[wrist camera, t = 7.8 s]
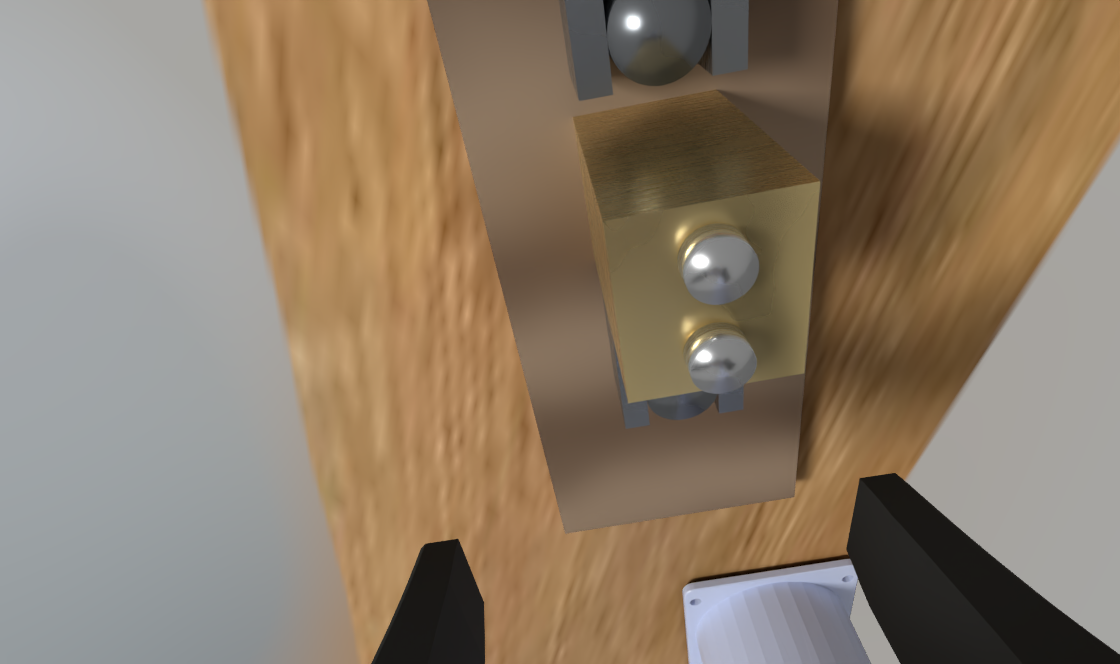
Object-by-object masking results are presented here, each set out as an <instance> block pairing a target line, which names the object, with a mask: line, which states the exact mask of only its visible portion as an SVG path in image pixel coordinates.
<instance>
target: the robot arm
mask: <svg viewBox="0 0 1120 664" xmlns="http://www.w3.org/2000/svg"><path fill="white" fill-rule="evenodd" d="M847 552H848V555H849V557H850V559H842V560H836V561H829V562H823V563H816V564H810V565H804V566H797V567H791V568H784V569H778V570H771V571H765V572H758V573H752V574H745V575H739V576H732V577H726V578H720V579H713V580H707V581H700V582H694V583H690V584H687V585H686V586H685V587H684V588H683V603H684V614H685V626H686V637H687V649H688V661H689V664H871V663H870V660H869V658H868V656H867V654H866V652H865V650H864V648H863V646H862V644H861V641H860V639H859V637H858V635H857V633H856V631H855V629H854V627H853V625H852V623H851V621H850V614H851V609H852V604H853V600H854V594H855V590H856V585H857V580H859V582H860V585H861V587H862V589H863V592H864V594H865V596H866V599H867V601H868V603H869V606H870V608H871V610H872V612H873V613H874V615H875V617H876V619H877V621H878V623H879V625H880V626H881V628H882V630H883V632H884V634H885V636H886V638H887V640H888V641H889V643H890V645H891V647H892V649H893V651H894V652H895V654H896V656H897V658H898V660H899V662H900V663H901V664H1120V654H1118V653H1117V652H1116V651H1114V650H1113V649H1111V648H1110V647H1109V646H1107V645H1106V644H1105V643H1103V642H1102V641H1100V640H1099V639H1098V638H1096V637H1095V636H1093V635H1092V634H1091V633H1090V632H1088V631H1087V630H1086V629H1084V628H1083V627H1082V626H1080V625H1079V624H1077V623H1076V622H1075V621H1074V620H1072V619H1071V618H1070V617H1068V616H1067V615H1065V614H1064V613H1063V612H1062V611H1060V610H1059V609H1057V608H1056V607H1055V606H1053V605H1052V604H1051V603H1050V602H1048V601H1047V600H1046V599H1045V598H1043V597H1042V596H1041V595H1040V594H1038V593H1037V592H1035V590H1033V589H1032V588H1031V587H1029V586H1028V585H1027V584H1026V583H1024V582H1023V581H1022V580H1021V579H1020V578H1018V577H1017V576H1016V575H1014V574H1013V573H1012V572H1011V571H1010V570H1008V569H1007V568H1006V567H1005V566H1004V565H1002V564H1001V563H1000V562H999V561H997V560H996V559H995V558H994V557H993V556H991V555H990V554H988V552H986V551H985V550H984V549H983V548H982V547H981V546H979V545H978V544H977V543H976V542H974V541H973V540H972V539H971V538H970V537H969V536H968V535H966V534H965V533H964V532H963V531H962V530H961V529H959V528H958V527H957V526H956V525H955V524H953V523H952V522H951V521H950V520H949V519H948V518H947V517H945V516H944V515H943V514H942V513H941V512H940V511H938V510H937V509H936V508H935V507H934V506H933V505H932V504H931V503H929V502H928V501H927V500H926V499H925V498H924V497H923V496H921V495H920V494H919V493H918V492H917V491H916V490H915V489H913V488H912V487H911V486H910V485H909V484H908V483H907V482H905V481H904V480H903V479H902V478H901V477H900V476H898V475H897V474H896V473H892V474H885V475H878V476H872V477H865V478H860V480H859V485H858V491H857V496H856V501H855V507H854V512H853V517H852V522H851V528H850V533H849V538H848V544H847ZM371 664H485V629H484V602H483V599H482V597H481V594H480V592H479V589H478V587H477V584H476V582H475V579H474V577H473V574H472V572H471V569H470V567H469V564H468V562H467V559H466V557H465V554H464V552H463V549H462V547H461V544H460V542H459V539H454V540H448V541H441V542H434V543H428V544H425V545H424V546H423V547H422V548H421V550H420V553H419V555H418V558H417V560H416V563H415V566H414V568H413V571H412V573H411V576H410V578H409V581H408V583H407V586H406V588H405V590H404V593H403V595H402V597H401V600H400V602H399V604H398V607H397V609H396V611H395V614H394V616H393V618H392V620H391V623H390V625H389V627H388V629H387V631H386V634H385V636H384V638H383V640H382V642H381V644H380V646H379V648H378V651H377V653H376V655H375V657H374V659H373V661H372V663H371Z"/></svg>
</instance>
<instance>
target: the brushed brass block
mask: <svg viewBox="0 0 1120 664" xmlns="http://www.w3.org/2000/svg"><path fill="white" fill-rule="evenodd" d="M573 123H574V129H575V136H576V142H577V149H578V155H579V162H580V168H581V175H582V181H583V188H584V194H585V201H586V207H587V213H588V220H589V226H590V233H591V239H592V246H593V252H594V259H595V264H596V268H597V272H598V276H599V281H600V285H601V289H602V293H603V298H604V302H605V306H606V310H607V315H608V319H609V323H610V328H611V332H612V336H613V340H614V345H615V349H616V353H617V357H618V362H619V366H620V370H621V374H622V379H623V383H624V387H625V391H626V396H627V400H628V403H634V402H639V401H645V400H651V399H657V398H663V397H669V396H675V395H681V394H686V393H692V392H698V391H704V392H707V393H712V394H722V393H728V392H731V391H734V390H736V389H738V388H740V387H741V386H743V385H744V384H745V383H751V382H757V381H763V380H768V379H774V378H780V377H786V376H792V375H798V374H804V371H805V359H806V347H807V335H808V323H809V311H810V299H811V287H812V275H813V263H814V251H815V239H816V227H817V215H818V202H819V190H820V180H818V179H817V178H816V177H815V176H814V175H813V174H812V173H810V172H809V171H808V170H807V169H806V168H805V167H804V166H803V165H801V164H800V163H799V162H798V161H797V160H796V159H795V158H793V157H792V156H791V155H790V154H789V153H788V152H787V151H786V150H784V149H783V148H782V147H781V146H780V145H779V144H778V143H776V142H775V141H774V140H773V139H772V138H771V137H770V136H769V135H767V134H766V133H765V132H764V131H763V130H762V129H761V128H759V127H758V126H757V125H756V124H755V123H754V122H753V121H752V120H750V119H749V118H748V117H747V116H746V115H745V114H744V113H743V112H741V111H740V110H739V109H738V108H737V107H736V106H735V105H733V104H732V103H731V102H730V101H729V100H728V99H727V98H726V97H724V96H723V95H722V94H721V93H720V92H719V91H718V90H716V89H715V90H710V91H705V92H700V93H695V94H689V95H684V96H679V97H674V98H669V99H663V100H658V101H653V102H648V103H643V104H637V105H632V106H627V107H622V108H617V109H611V110H606V111H601V112H596V113H591V114H585V115H580V116H575V117H573Z"/></svg>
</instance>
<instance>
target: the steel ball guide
mask: <svg viewBox="0 0 1120 664" xmlns="http://www.w3.org/2000/svg"><path fill="white" fill-rule="evenodd" d="M559 6H560V13H561V19H562V26H563V33H564V40H565V46H566V53H567V60H568V67H569V74H570V77H571V80H572V83H573V86H574V89H575V91H576V94H577V97H578V100H579V101H583V100H588V99H594V98H599V97H604V96H609V95H613V87H612V78H611V69H610V60H609V56H610V57H611V59H612V60H613V62H614V63H615V65H616V66H617V68H618V69H619V70H620V71H621V72H622V73H623V74H624V75H625V76H626V77H627V78H629V79H630V80H632V81H634V82H636V83H639V84H642V85H647V86H662V85H666V84H670V83H672V82H675V81H677V80H679V79H680V78H682V77H683V76H685V75H686V74H688V73H689V72H690V71H691V70H692V69H693V68H694V67H695V66H696V64H697V63H698V64H699V65H700V66H701V67H703V68H704V69H705V70H706V71H707V72H709V73H710V74H711V75H712V76H715V75H720V74H726V73H731V72H736V71H741V70H747V69H748V14H749V0H559ZM601 290H602V289H601ZM602 297H603V293H602ZM603 304H604V310H605V317H606V324H607V331H608V338H609V344H610V351H611V358H612V365H613V371H614V378H615V382H616V387H617V391H618V396H619V401H620V405H621V410H622V414H623V419H624V423H625V428H626V429H629V428H635V427H641V426H647V425H650V422H649V413H648V405H649V407H650V409H651V410H652V411H653V412H654V413H655V414H657V415H658V416H660V417H663V418H666V419H670V420H683V419H688V418H692V417H694V416H697V415H699V414H701V413H702V412H704V411H705V410H706V409H708V408H709V407H710V406H711V405H712V403H713V402H714V403H715V405H716V408H717V410H718V412H719V413H725V412H731V411H737V410H743V398H744V385H743V386H741V387H740V388H738V389H736V390H734V391H731V392H728V393H722V394H712V393H707V392H704V391H698V392H692V393H686V394H681V395H675V396H669V397H663V398H657V399H651V400H645V401H639V402H634V403H628V400H627V396H626V391H625V387H624V383H623V379H622V374H621V370H620V366H619V362H618V357H617V353H616V349H615V345H614V340H613V336H612V332H611V328H610V323H609V319H608V315H607V310H606V306H605V302H604V298H603ZM647 402H648V404H647Z"/></svg>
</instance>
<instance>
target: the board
mask: <svg viewBox="0 0 1120 664" xmlns="http://www.w3.org/2000/svg"><path fill="white" fill-rule="evenodd" d="M427 1H428V5H429V9H430V13H431V17H432V20H433V24H434V28H435V32H436V36H437V40H438V44H439V47H440V51H441V55H442V59H443V63H444V67H445V71H446V74H447V78H448V82H449V86H450V90H451V94H452V98H453V102H454V105H455V109H456V113H457V117H458V121H459V125H460V129H461V132H462V136H463V140H464V144H465V148H466V152H467V156H468V159H469V163H470V167H471V171H472V175H473V179H474V183H475V186H476V190H477V194H478V198H479V202H480V206H481V210H482V214H483V217H484V221H485V225H486V229H487V233H488V237H489V241H490V244H491V248H492V252H493V256H494V260H495V264H496V268H497V271H498V275H499V279H500V283H501V287H502V291H503V295H504V298H505V302H506V306H507V310H508V314H509V318H510V322H511V326H512V329H513V333H514V337H515V341H516V345H517V349H518V353H519V356H520V360H521V364H522V368H523V372H524V376H525V380H526V383H527V387H528V391H529V395H530V399H531V403H532V407H533V410H534V414H535V418H536V422H537V426H538V430H539V434H540V438H541V441H542V445H543V449H544V453H545V457H546V461H547V465H548V468H549V472H550V476H551V480H552V484H553V488H554V492H555V495H556V499H557V503H558V507H559V511H560V515H561V519H562V523H563V526H564V530H565V534H566V533H572V532H578V531H585V530H591V529H597V528H603V527H610V526H616V525H622V524H629V523H635V522H641V521H647V520H654V519H660V518H666V517H672V516H679V515H685V514H691V513H698V512H704V511H710V510H716V509H723V508H729V507H735V506H741V505H748V504H754V503H760V502H766V501H773V500H779V499H785V498H792V497H794V495H795V483H796V472H797V461H798V450H799V438H800V427H801V416H802V405H803V393H804V382H805V371H806V360H807V349H808V337H809V326H810V315H811V304H812V292H813V281H814V270H815V259H816V247H817V236H818V225H819V214H820V202H821V191H822V180H823V169H824V158H825V146H826V135H827V124H828V113H829V101H830V90H831V79H832V68H833V56H834V45H835V34H836V23H837V11H838V0H749V14H748V69H747V70H741V71H736V72H731V73H726V74H720V75H715V76H712V75H711V74H710V73H709V72H707V71H706V70H705V69H704V68H703V67H701V66H700V65H699V64H698V63H697V64H696V66H695V67H694V68H693V69H692V70H691V71H690V72H689V73H688V74H686V75H685V76H683V77H682V78H680V79H679V80H677V81H675V82H672V83H670V84H666V85H662V86H647V85H642V84H639V83H636V82H634V81H632V80H630V79H629V78H627V77H626V76H625V75H624V74H623V73H622V72H621V71H620V70H619V69H618V68H617V66H616V65H615V63H614V62H613V60H612V59H611V57H610V56H609V60H610V69H611V78H612V87H613V95H609V96H604V97H599V98H594V99H588V100H583V101H579V100H578V97H577V94H576V91H575V89H574V86H573V83H572V80H571V77H570V74H569V67H568V60H567V53H566V46H565V40H564V33H563V26H562V19H561V13H560V6H559V0H427ZM715 89H716V90H718V91H719V92H720V93H721V94H722V95H723V96H724V97H726V98H727V99H728V100H729V101H730V102H731V103H732V104H733V105H735V106H736V107H737V108H738V109H739V110H740V111H741V112H743V113H744V114H745V115H746V116H747V117H748V118H749V119H750V120H752V121H753V122H754V123H755V124H756V125H757V126H758V127H759V128H761V129H762V130H763V131H764V132H765V133H766V134H767V135H769V136H770V137H771V138H772V139H773V140H774V141H775V142H776V143H778V144H779V145H780V146H781V147H782V148H783V149H784V150H786V151H787V152H788V153H789V154H790V155H791V156H792V157H793V158H795V159H796V160H797V161H798V162H799V163H800V164H801V165H803V166H804V167H805V168H806V169H807V170H808V171H809V172H810V173H812V174H813V175H814V176H815V177H816V178H817V179H818V180H820V190H819V202H818V215H817V227H816V239H815V251H814V263H813V275H812V287H811V299H810V311H809V323H808V335H807V347H806V359H805V371H804V374H798V375H792V376H786V377H780V378H774V379H768V380H763V381H757V382H751V383H745V384H744V398H743V410H737V411H731V412H725V413H719V412H718V410H717V408H716V405H715V403H714V402H713V403H712V405H711V406H710V407H709V408H708V409H706V410H705V411H704V412H702V413H701V414H699V415H697V416H694V417H692V418H688V419H683V420H670V419H666V418H663V417H660V416H658V415H657V414H655V413H654V412H653V411H652V410H651V409H650V407H649V405H648V413H649V422H650V425H647V426H641V427H635V428H629V429H626V428H625V423H624V419H623V414H622V410H621V405H620V401H619V396H618V391H617V387H616V382H615V378H614V371H613V365H612V358H611V351H610V344H609V338H608V331H607V324H606V317H605V310H604V304H603V297H602V290H601V285H600V281H599V276H598V272H597V268H596V264H595V259H594V252H593V246H592V239H591V233H590V226H589V220H588V213H587V207H586V201H585V194H584V188H583V181H582V175H581V168H580V162H579V155H578V149H577V142H576V136H575V129H574V123H573V117H575V116H580V115H585V114H591V113H596V112H601V111H606V110H611V109H617V108H622V107H627V106H632V105H637V104H643V103H648V102H653V101H658V100H663V99H669V98H674V97H679V96H684V95H689V94H695V93H700V92H705V91H710V90H715ZM647 404H648V402H647Z"/></svg>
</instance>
